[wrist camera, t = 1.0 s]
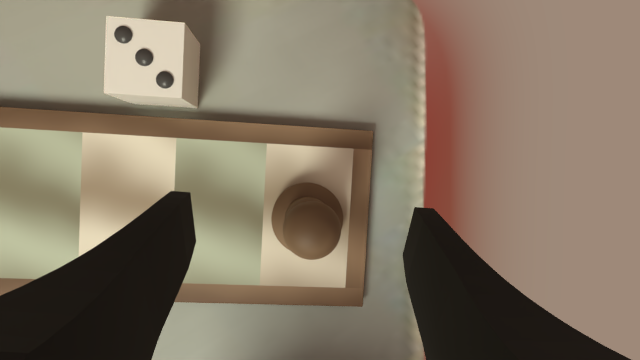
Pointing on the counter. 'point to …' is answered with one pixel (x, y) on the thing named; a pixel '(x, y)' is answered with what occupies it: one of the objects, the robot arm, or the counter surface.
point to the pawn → (307, 220)
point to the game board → (185, 176)
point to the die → (151, 62)
